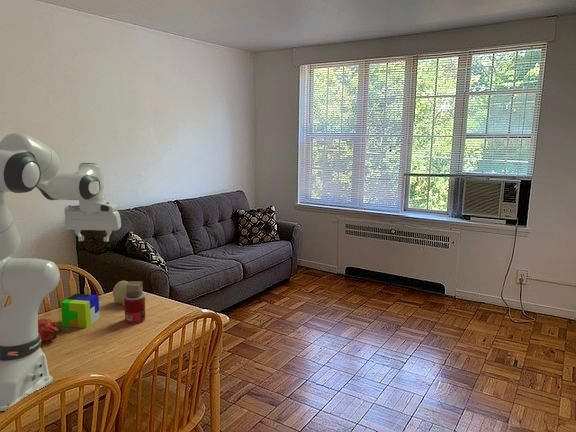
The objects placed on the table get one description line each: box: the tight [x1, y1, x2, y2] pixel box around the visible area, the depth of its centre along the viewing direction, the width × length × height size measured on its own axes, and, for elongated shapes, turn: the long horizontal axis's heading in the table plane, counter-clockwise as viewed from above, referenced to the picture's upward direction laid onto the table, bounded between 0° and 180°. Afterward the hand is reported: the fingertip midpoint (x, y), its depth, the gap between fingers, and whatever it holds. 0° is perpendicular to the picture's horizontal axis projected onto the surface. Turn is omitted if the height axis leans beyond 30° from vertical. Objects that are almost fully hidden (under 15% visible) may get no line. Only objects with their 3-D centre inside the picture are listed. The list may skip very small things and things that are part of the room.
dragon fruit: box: [38, 317, 62, 344], centre depth 161 cm, size 8×8×12 cm
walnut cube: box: [126, 280, 144, 297], centre depth 179 cm, size 5×5×5 cm
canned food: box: [124, 292, 146, 325], centre depth 180 cm, size 8×8×11 cm
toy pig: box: [112, 280, 130, 307], centre depth 197 cm, size 10×12×11 cm
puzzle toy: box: [60, 293, 100, 329], centre depth 177 cm, size 10×10×10 cm
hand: (93, 241), depth 168 cm, fingers open, 8 cm apart
